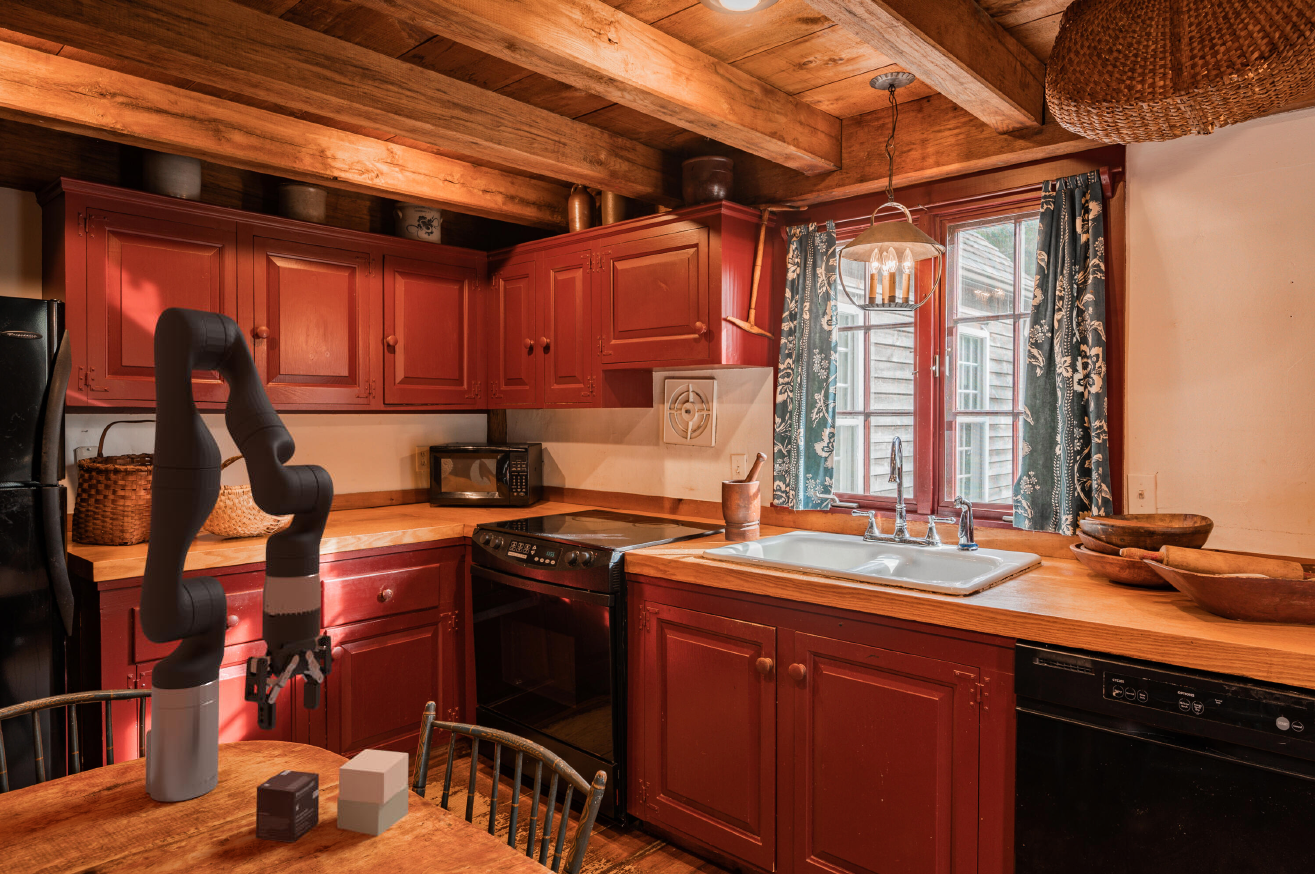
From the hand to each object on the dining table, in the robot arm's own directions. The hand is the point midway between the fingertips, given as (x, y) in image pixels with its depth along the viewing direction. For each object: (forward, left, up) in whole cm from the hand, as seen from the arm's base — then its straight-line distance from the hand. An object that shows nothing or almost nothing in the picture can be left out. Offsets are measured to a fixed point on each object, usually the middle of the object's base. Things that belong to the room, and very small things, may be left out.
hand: (289, 718), depth 114 cm
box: (0, 0, -16) cm, 16 cm away
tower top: (+10, +6, -12) cm, 16 cm away
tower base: (+10, +6, -16) cm, 20 cm away
